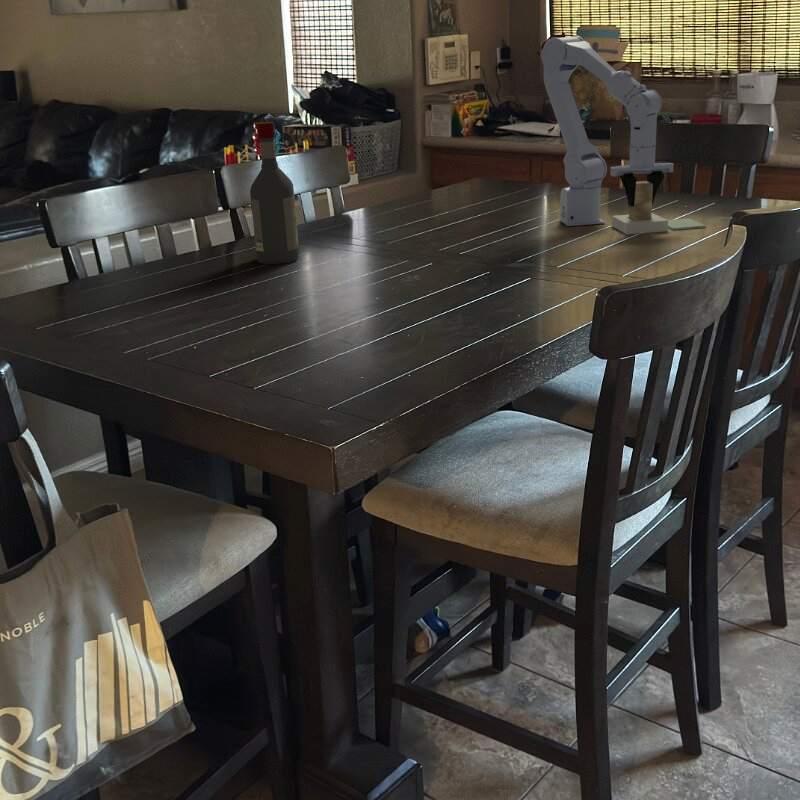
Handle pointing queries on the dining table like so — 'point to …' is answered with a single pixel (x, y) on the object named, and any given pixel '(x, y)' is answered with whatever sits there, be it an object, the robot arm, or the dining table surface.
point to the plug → (642, 202)
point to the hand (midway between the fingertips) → (640, 205)
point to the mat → (684, 224)
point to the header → (639, 224)
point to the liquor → (273, 206)
